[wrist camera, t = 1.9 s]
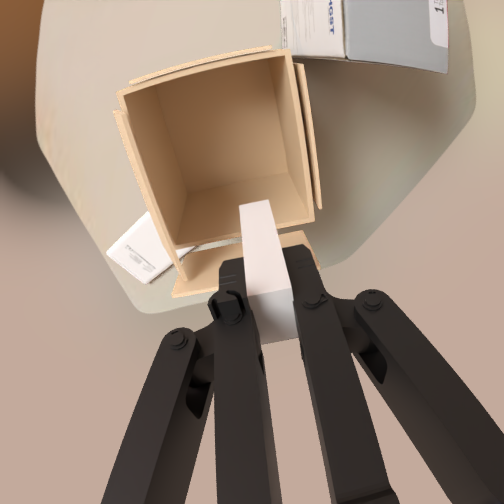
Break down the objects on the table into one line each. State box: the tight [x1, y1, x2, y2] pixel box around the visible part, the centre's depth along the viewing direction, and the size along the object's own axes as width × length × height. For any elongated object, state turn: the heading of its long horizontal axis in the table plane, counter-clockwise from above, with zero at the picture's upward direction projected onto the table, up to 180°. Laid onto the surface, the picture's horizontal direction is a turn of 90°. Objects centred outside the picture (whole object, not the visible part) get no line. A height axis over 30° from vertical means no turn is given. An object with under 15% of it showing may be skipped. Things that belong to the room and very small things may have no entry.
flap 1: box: [113, 110, 188, 282], centre depth 23 cm, size 13×7×1 cm
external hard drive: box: [106, 211, 195, 285], centre depth 44 cm, size 2×8×12 cm
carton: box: [116, 45, 322, 250], centre depth 30 cm, size 16×15×12 cm
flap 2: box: [171, 230, 321, 298], centre depth 26 cm, size 7×11×1 cm
